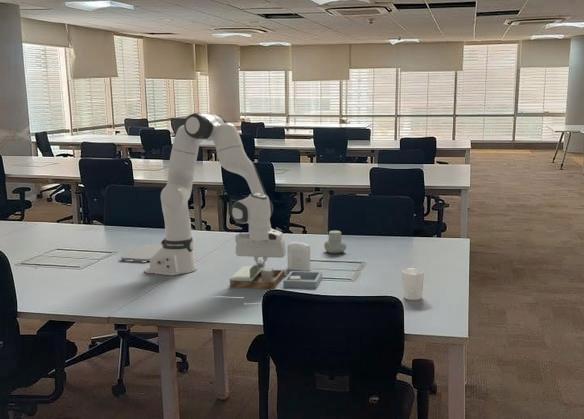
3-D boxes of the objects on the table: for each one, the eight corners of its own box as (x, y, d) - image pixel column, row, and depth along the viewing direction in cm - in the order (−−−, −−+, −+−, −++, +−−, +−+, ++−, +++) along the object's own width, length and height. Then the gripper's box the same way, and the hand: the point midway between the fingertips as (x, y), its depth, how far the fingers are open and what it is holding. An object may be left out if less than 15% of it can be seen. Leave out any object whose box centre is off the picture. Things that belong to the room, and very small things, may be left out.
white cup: (420, 293, 240) (421, 268, 238) (425, 300, 232) (426, 273, 231) (400, 294, 240) (400, 268, 238) (404, 301, 232) (404, 274, 230)
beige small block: (261, 282, 257) (261, 270, 256) (264, 280, 261) (263, 268, 260) (271, 283, 256) (270, 271, 256) (273, 280, 260) (273, 268, 259)
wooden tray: (230, 288, 253) (229, 280, 252) (242, 275, 270) (242, 268, 270) (274, 290, 249) (274, 282, 249) (284, 276, 266) (284, 270, 266)
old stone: (290, 286, 252) (290, 278, 251) (290, 283, 256) (289, 276, 255) (300, 285, 252) (300, 278, 251) (300, 282, 256) (299, 275, 255)
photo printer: (312, 270, 276) (311, 242, 273) (307, 272, 272) (306, 244, 270) (291, 267, 281) (290, 240, 278) (286, 270, 277) (285, 242, 275)
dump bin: (283, 288, 251) (283, 280, 251) (291, 277, 265) (290, 270, 264) (316, 289, 249) (316, 281, 248) (322, 279, 262) (322, 271, 262)
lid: (229, 280, 252) (229, 270, 251) (242, 267, 270) (242, 258, 269) (251, 281, 250) (251, 271, 249) (263, 268, 268) (263, 258, 267)
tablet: (175, 250, 319) (175, 245, 318) (149, 263, 294) (149, 259, 294) (146, 248, 323) (145, 244, 323) (118, 262, 299) (118, 257, 299)
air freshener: (348, 253, 302) (348, 233, 300) (332, 255, 299) (332, 234, 297) (338, 248, 312) (337, 228, 310) (322, 250, 309) (322, 230, 307)
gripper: (232, 234, 255) (234, 268, 257) (282, 236, 251) (283, 270, 253) (237, 231, 261) (238, 264, 263) (286, 232, 257) (287, 266, 259)
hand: (261, 267), depth 258 cm, fingers closed
